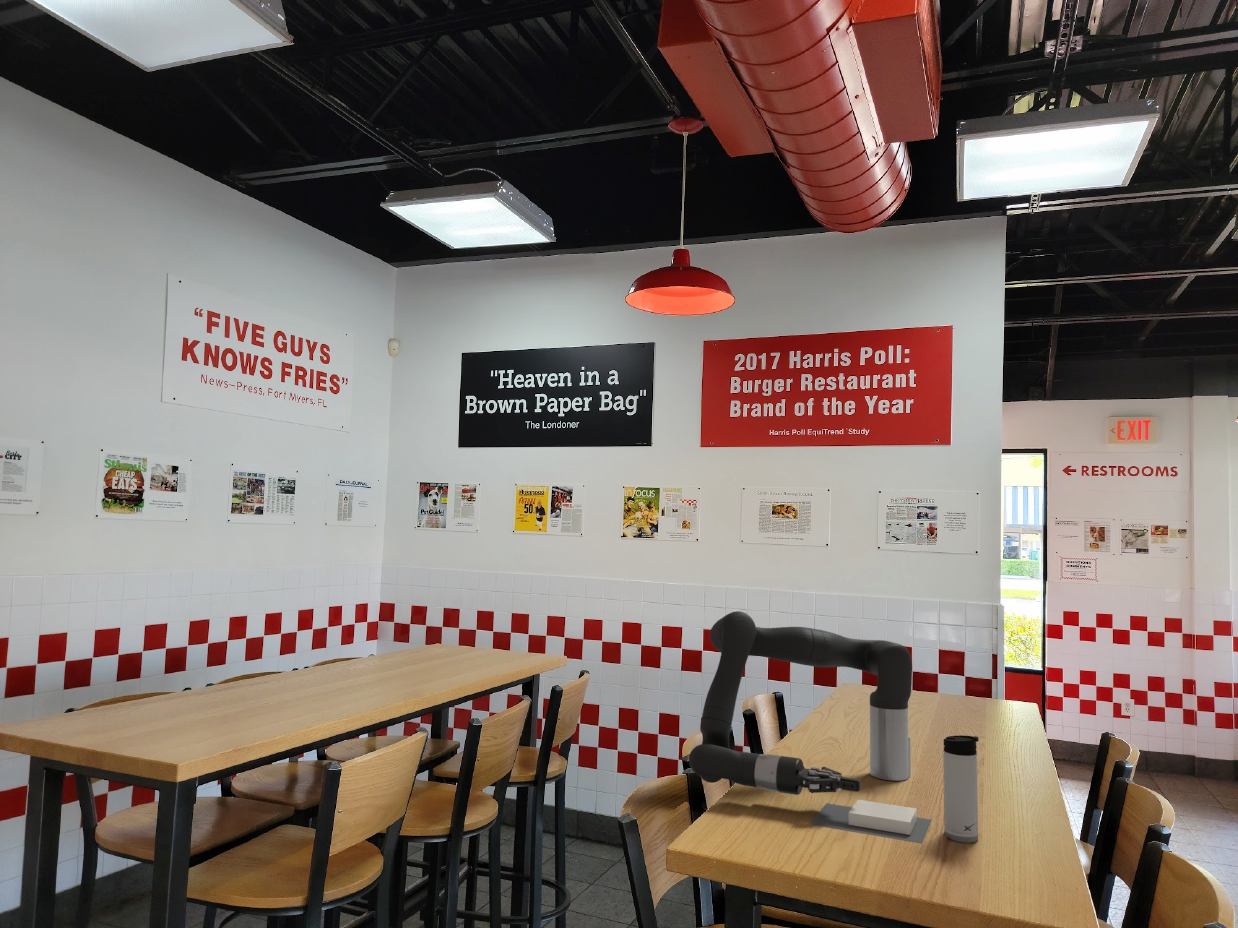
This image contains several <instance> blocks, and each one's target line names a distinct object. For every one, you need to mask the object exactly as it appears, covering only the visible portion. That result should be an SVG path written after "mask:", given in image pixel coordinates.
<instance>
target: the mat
mask: <svg viewBox="0 0 1238 928" xmlns="http://www.w3.org/2000/svg"><path fill="white" fill-rule="evenodd" d="M852 807H853V806H848V805H847V806H846V805H841V804H835V803H828V802H826V803H825V804H824V805H823V807H822V808H821V809H820V810H819V812H818V813H817V814H816V815H815V816H814V818H813V819H812V820H811V821H810V822H809V823H808V825H811V826H817V827H822V828H829V829H834V830H835V829H836V830H841V831H846V832H852V833H858V834H864V835H871V836H875V837H876V836H877V837H881V838H883V837H884V838H888V839H893V840H899V841H904V842H911V843H915V844H916V843H917V844H923V843H924V840H925V837H926V835H927V833H928V830H929V828H930V825H931V822H932V819H929V818H925V817H924V818H923V817H918V816H917V821H916V823H915V825H914V828H913V830H912V832H911V834H910V835H908V834H901V833H895V832H889V831H883V830H877V829H871V828H865V827H859V826H853V825H849V811H850V810H851V809H852Z"/></svg>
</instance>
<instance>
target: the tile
mask: <svg viewBox="0 0 1238 928" xmlns="http://www.w3.org/2000/svg"><path fill="white" fill-rule="evenodd" d="M851 807H852V809H851V810H850V811H849V825H853V826H859V827H865V828H871V829H877V830H883V831H889V832H895V833H901V834H908V835H910V834H911V832H912V830H913V828H914V825H915V823H916V821H917V817H918V815H917V814H918V810H917V808H916V807H907V806H902V805H895V804H887V803H883V802H878V801H877V802H876V801H870V800H862V799H857V800H856V801H855V803H854V804H853V806H851Z"/></svg>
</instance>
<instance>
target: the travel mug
mask: <svg viewBox="0 0 1238 928" xmlns="http://www.w3.org/2000/svg"><path fill="white" fill-rule="evenodd" d="M979 739H980V738H979V737H978V736H974V735H973V736H972V735H962V734H961V735H950V736H946V737H945V738H944V739H943V750H942V751H943V827H944V828H943V831H944V832H943V833H944V836H946V837H947V839H949V840H950V841H953V842H957V843H962V844H973V843H975V842H978V839H979V831H978V830H979V820H978V819H979V814H978V813H979V811H978V809H979V807H978V806H979V805H978V804H979V803H978V801H979V800H978V758H977V757H978V752H977V748H978V747H977V742H979Z"/></svg>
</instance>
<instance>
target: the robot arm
mask: <svg viewBox="0 0 1238 928" xmlns="http://www.w3.org/2000/svg"><path fill="white" fill-rule="evenodd" d="M709 639H710V642H711V644H712V646H713V647H714V648H715V650H717V651H718V652H720V658H719V662H718V665H717V669H716V671H715V674H714V677H713V679H712V682H711V684H710V686H709V689H708V691H707V695H706V698H705V701H704V705H703V710H702V713H701V714H702V715H701V720H700V724H699V725H700V727H699V730H700V733H701V735H702V742H701V744H699V745H696V746H695V747H694V748H692V749H691V751H690V753H689V756H688V764H689V767H690V769H691V770H692V772H693V773H694V774H696V775H697V776H698V777H700V779H701V780H703V781H705V782H706V783H712V784H714V783H717V782H719V781H721V780H722V779H724V780H729V781H731V782H733V783H735V784H737V785H740V786H746V787H752V788H758V789H763V790H764V791H770V792H777V793H781V794H782V793H784V794H789V795H795V796H798V795H800V794H801V793H802V791H803V789H804V788H805V789H807V790H808V792H809V793H810V794H817V793H836V792H837V791H841V790H844V791H850V792H857V793H858V792H860V790H861V789H862V781H861V780H860V779H859V778H853V777H845V776H843V774H842V772H840V771H837V770H834V769H831V768H829V767H826V766H822V767H814V766H812V767H810V768H805V766H804V761H803V759H801V758H799V757H792V756H786V755H785V756H784V755H777V754H771V753H770V754H768V753H767V754H764V753H763V754H762V753H756V752H755V753H754V752H748V751H746V752H745V751H740V750H739V751H737V750H733V749H731V748H730V734H731V733H730V732H731V728H732V723H733V719H734V712H735V707H736V703H737V698H738V693H739V689H740V685H741V681H742V677H743V673H744V670H745V667H746V664H747V660H748V658H749V657H763V658H766V659H767V658H768V659H773V660H776V661H777V660H778V661H782V662H786V663H791V664H792V663H793V664H796V665H798V664H799V665H804V666H809V667H815V668H838V667H839V668H840V667H841V668H842V667H844V668H850V669H851V668H852V669H854V670H859V671H863V672H866V673H868V674H869V673H870V674H872V675H874V676H877V686H876V689H875V691H872V692H871V693H870V695H869V774H870V776H871V777H873V778H877V779H880V780H886V781H898V782H899V781H906V780H908V779H909V777H911V772H912V771H911V770H912V769H911V760H912V759H911V757H912V756H911V755H912V753H911V750H912V749H911V737H910V736H909V708H908V707H909V700H910V697H911V696H912V681H913V680H912V679H913V660H912V657H911V654H910V652H909V649H908V648H907V647H905V645H903V644H900V643H896V642H893V641H889V640H882V639H876V640H875V639H859V638H852V637H846V636H842V635H841V634H837V633H834V632H832V631H827V630H823V629H816V628H811V627H805V626H781V627H760V626H756V623H755V621H754V620H753V618H752V617H751V616H750V615H749V614H747V613H746V612H744V611H740V610H739V611H737V610H736V611H732V612H730V613H727V614H726V615H724V616H722V617H721V618H720V619H718V620H717V621H716V622H715V623H714V624H713V625H712V626H711V628H710V631H709ZM820 768H821V769H820Z"/></svg>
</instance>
